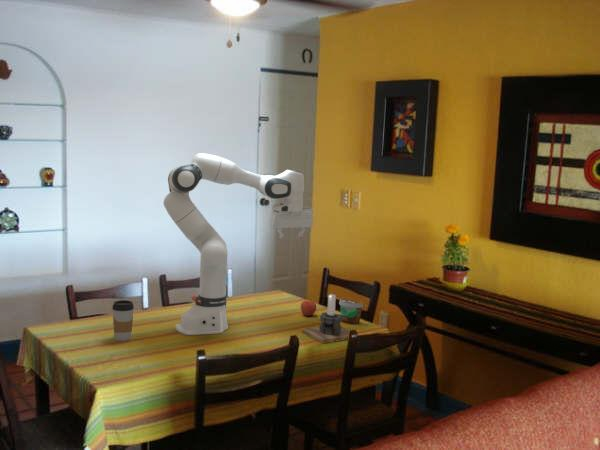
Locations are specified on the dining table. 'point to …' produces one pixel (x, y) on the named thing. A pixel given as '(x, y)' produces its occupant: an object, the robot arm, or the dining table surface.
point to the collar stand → (328, 329)
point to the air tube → (331, 308)
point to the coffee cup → (122, 319)
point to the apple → (308, 307)
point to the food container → (350, 311)
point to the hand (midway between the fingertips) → (290, 237)
